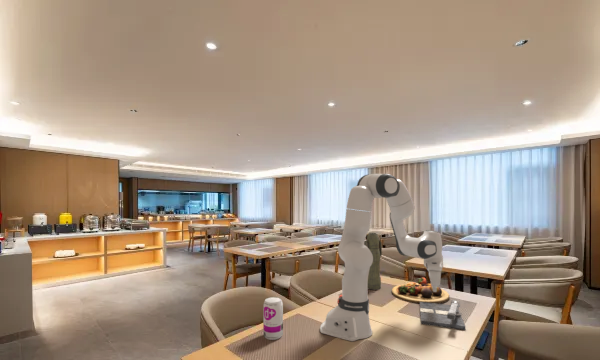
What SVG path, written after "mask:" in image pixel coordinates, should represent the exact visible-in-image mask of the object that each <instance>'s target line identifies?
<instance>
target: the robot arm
mask: <svg viewBox="0 0 600 360" xmlns="http://www.w3.org/2000/svg"><path fill="white" fill-rule="evenodd" d="M375 198H377V199H378V198H379V199H381V198H384V199H386V202H387V204H388V208H389V210H390V212H389V221H390V225H391V228H392V230H393V234H394V238H395V244H396V245H395V246H396V250H397V253H399V254H400V255H401V256H405V257H412V258H416V259H421V260H423V266H424V267H425V268H426V270H427V272H428V277H429V280H430V284H431V286H432V290H433V292H437V287H440V288H441V281H442V280H441V279H442V278H441V276H442V271H443V268H444V257H443V240H442V235H441V233H440V232H439V231H436V230H430V229H429V230H428V229H426V230H423V233H422V234H421V235H420V236H419V237H415V236H414V237H413V236H410V235H409V234H407V230H406V227H405V223H404V221H405V220H406V219H409V217H411V216H412V215H413V214H414V212H415V203H414V200H413V197H412V196H411V194H410V191H409V190H408V188H407V186H406V184H405V183H404V181H402V180H401V179H398V178H396V176H394V175H393V174H389V173H370V174H364V175H363V176H360V178H359V180H357V184H356V185H355V186H353V187H352V188H351V189H350V191H349V194H348V198H347V204H346V211H345V221H344V227H343V231H342V235H341V239H340V242H339V244H338V247H337V252H338V253H337V254H338V256H339V258H340V260H341V261H343V262H344V269H343V270H344V271H343V277H342V279H341V288H342V289H341V290H342V292H341V293H342V294H340V295H339V296H338V299H337V305H336V306H335V307H334V308H332V309H331V310H329V311H328V312H327V314H326V316H325V320H324V321H323V322H322V323H321V324H320V326H319V327H320V328H319V331H320V333H321V334H324V335H328V336H331V337H334V338H338V339H342V340H345V341H349V342H356V341H358V340H362V339H363V340H364V339H367V338H369V337H371V336H372V335H373V330H372V325H371V322H370V314H369V312H370V300H369V296H368V294H369V293H368V275H369V269H370V266H371V265H372V262H373V255H372V253H371V251H370V250H369V248H368V247H367V246H365V245H364V242H365V241H366V239H367V236H368V234H369V231H370V228H371V220H372V210H373V209H372V206H373V201H374V200H375Z"/></svg>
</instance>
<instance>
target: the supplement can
mask: <svg viewBox="0 0 600 360" xmlns="http://www.w3.org/2000/svg"><path fill="white" fill-rule="evenodd" d="M262 311H263V316H262V317H263V321H262V322H263V337H264V338H265V339H266V340H270V341H274V340H279V339H280V338H282V336H283V335H284V312H283V311H284V302H283V300H282V298H281V297H277V296H271V297H268V298H267V297H266V298H265V300H264V302H263V310H262Z"/></svg>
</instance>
